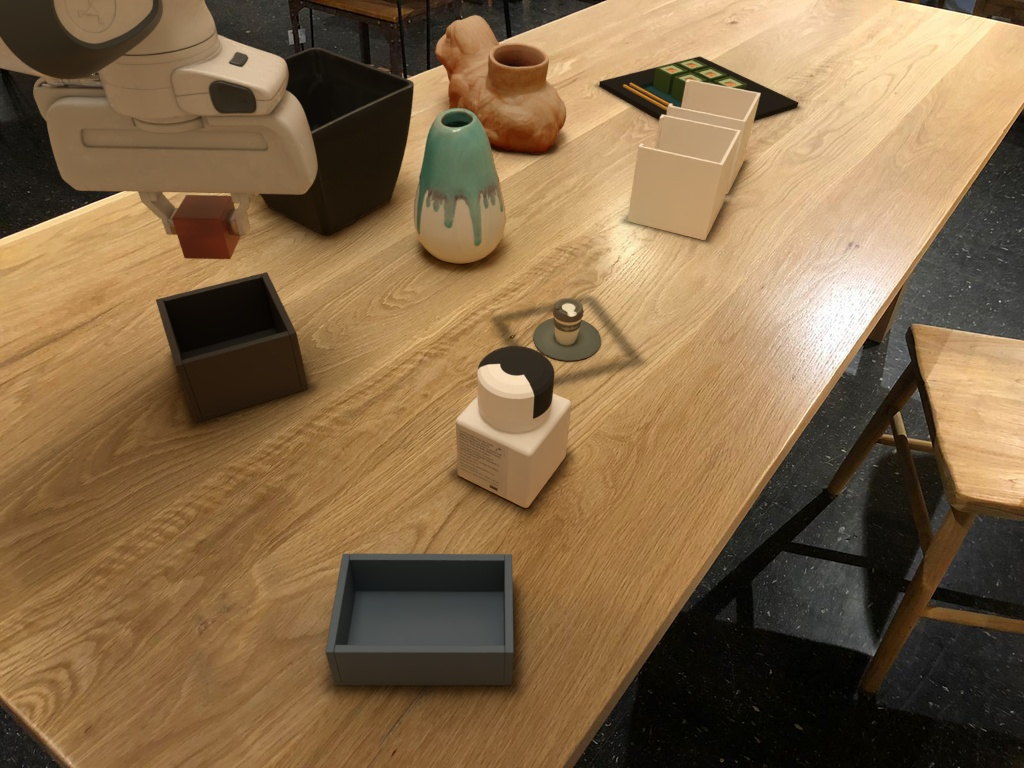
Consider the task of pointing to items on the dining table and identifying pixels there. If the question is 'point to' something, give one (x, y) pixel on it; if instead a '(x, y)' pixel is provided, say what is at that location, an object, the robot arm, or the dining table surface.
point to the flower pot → (347, 137)
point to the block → (205, 227)
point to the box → (422, 620)
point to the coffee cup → (567, 333)
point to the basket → (232, 345)
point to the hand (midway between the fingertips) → (209, 231)
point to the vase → (458, 191)
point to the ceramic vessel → (501, 87)
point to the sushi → (668, 85)
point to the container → (513, 426)
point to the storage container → (693, 159)
